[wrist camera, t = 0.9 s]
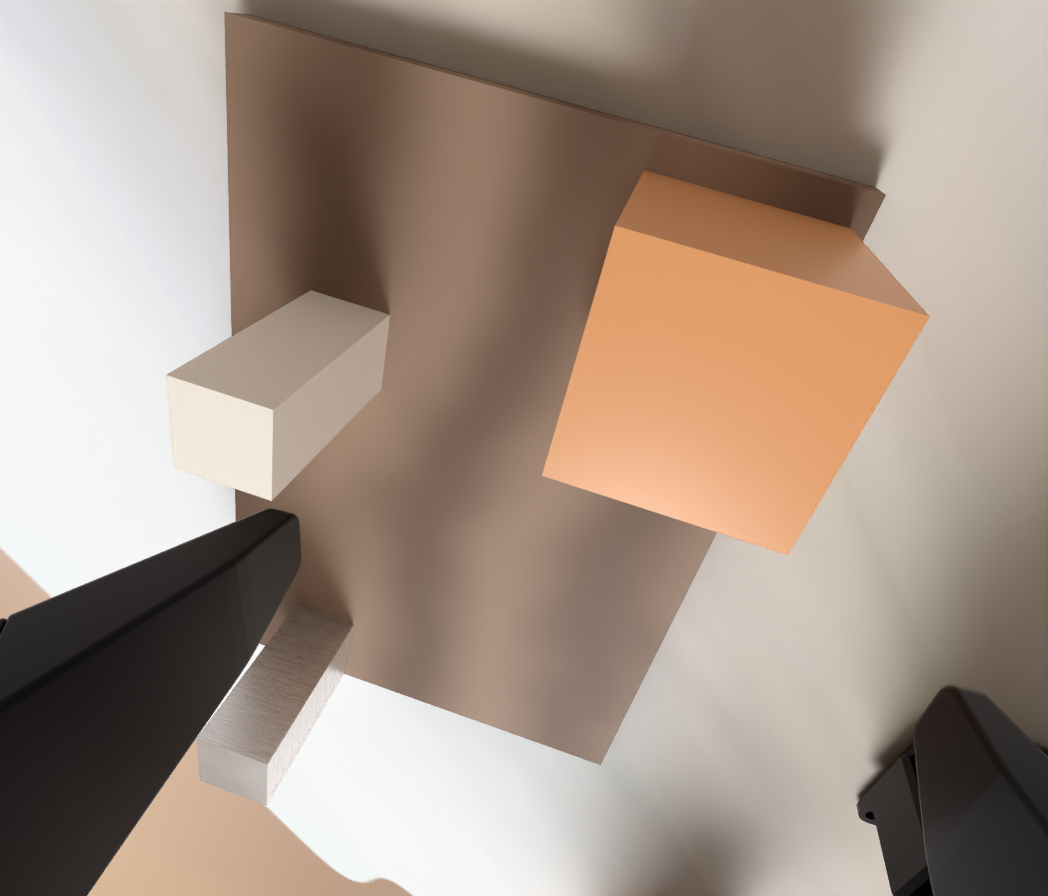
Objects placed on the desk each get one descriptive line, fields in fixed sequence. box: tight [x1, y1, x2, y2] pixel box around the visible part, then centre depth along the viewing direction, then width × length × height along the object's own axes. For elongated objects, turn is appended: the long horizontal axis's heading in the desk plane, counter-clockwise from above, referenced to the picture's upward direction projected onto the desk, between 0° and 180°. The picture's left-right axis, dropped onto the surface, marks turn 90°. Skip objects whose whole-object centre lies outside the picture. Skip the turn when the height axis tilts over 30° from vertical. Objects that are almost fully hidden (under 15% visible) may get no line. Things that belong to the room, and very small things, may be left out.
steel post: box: [197, 605, 354, 805], centre depth 26 cm, size 3×3×8 cm
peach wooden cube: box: [542, 170, 930, 555], centre depth 15 cm, size 5×5×7 cm
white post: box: [166, 291, 390, 501], centre depth 18 cm, size 3×3×8 cm
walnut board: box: [225, 12, 886, 765], centre depth 23 cm, size 17×24×1 cm
